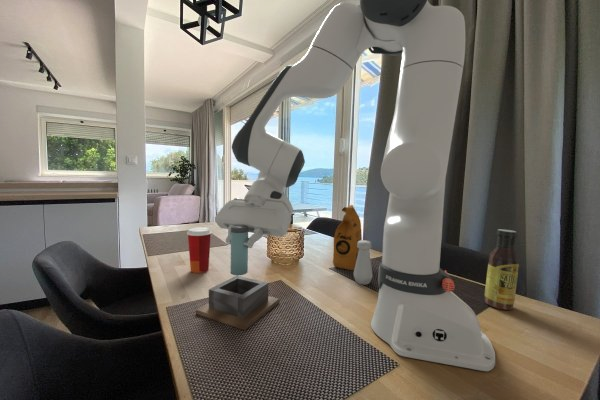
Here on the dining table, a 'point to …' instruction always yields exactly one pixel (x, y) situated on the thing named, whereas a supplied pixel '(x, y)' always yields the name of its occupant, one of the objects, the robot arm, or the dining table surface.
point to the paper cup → (199, 249)
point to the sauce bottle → (502, 272)
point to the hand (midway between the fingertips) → (237, 244)
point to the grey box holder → (238, 302)
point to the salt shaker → (363, 263)
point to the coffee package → (347, 240)
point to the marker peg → (239, 250)
